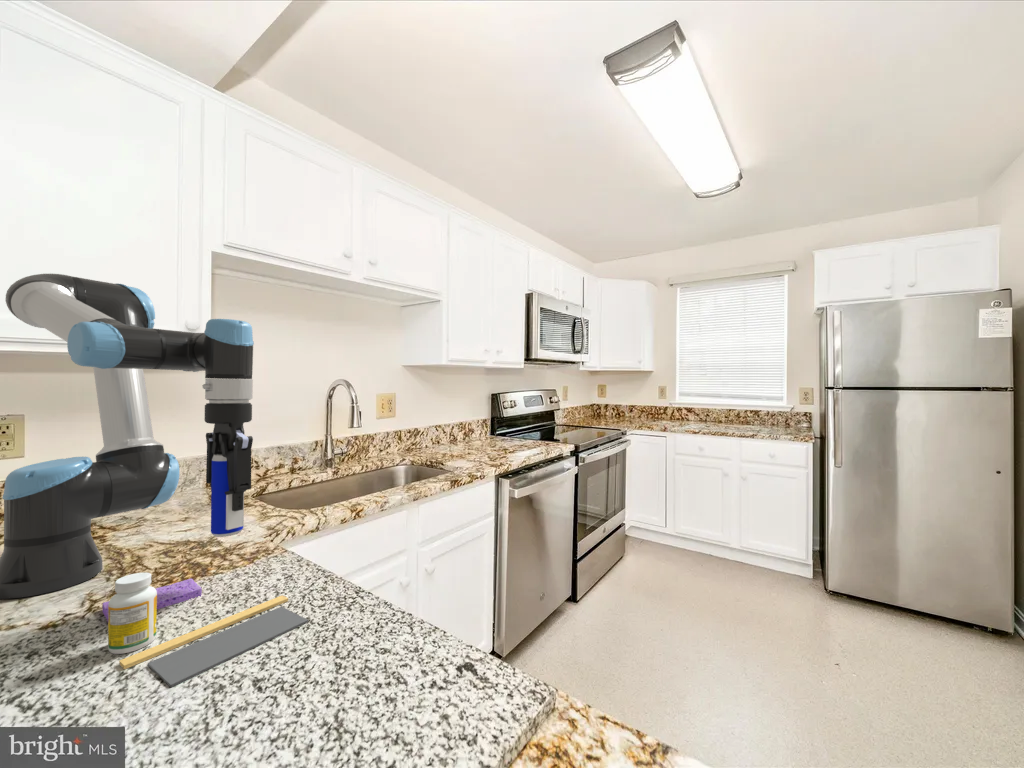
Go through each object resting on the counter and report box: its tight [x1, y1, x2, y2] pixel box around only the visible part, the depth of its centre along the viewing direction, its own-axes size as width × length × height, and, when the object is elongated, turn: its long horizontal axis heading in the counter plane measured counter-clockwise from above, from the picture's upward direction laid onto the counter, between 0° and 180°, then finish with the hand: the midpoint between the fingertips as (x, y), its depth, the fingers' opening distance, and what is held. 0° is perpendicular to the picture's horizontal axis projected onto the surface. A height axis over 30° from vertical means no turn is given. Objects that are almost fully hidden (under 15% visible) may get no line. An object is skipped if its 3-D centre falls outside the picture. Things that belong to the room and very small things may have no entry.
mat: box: [146, 606, 309, 688], centre depth 63 cm, size 8×18×1 cm, turn 146°
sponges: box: [101, 577, 203, 623], centre depth 75 cm, size 7×13×2 cm, turn 138°
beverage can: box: [210, 454, 244, 538], centre depth 82 cm, size 5×5×15 cm
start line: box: [119, 594, 289, 670], centre depth 67 cm, size 2×22×1 cm, turn 146°
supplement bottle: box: [107, 572, 158, 655], centre depth 63 cm, size 5×5×10 cm
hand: (227, 524), depth 82 cm, fingers closed on beverage can, 5 cm apart
